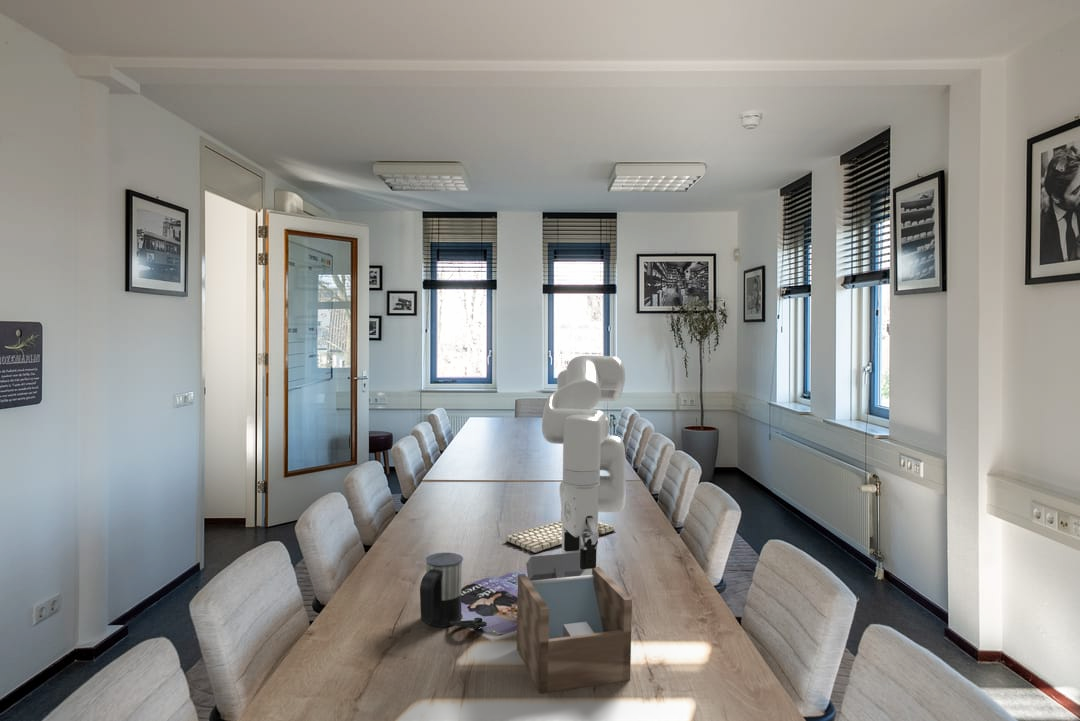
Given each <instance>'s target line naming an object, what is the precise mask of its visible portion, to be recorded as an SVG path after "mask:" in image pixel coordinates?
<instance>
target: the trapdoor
mask: <svg viewBox="0 0 1080 721" xmlns="http://www.w3.org/2000/svg"><path fill="white" fill-rule="evenodd" d="M525 565H526V573H527V578H528V579H529V580H530V582H531V583H532V585H533V586H534V588H535V589H536V591H537V592H538V593H539V595H540V596H541V598H542V599H543V601H544V602H545V604H546V605H547V606H548V608H549V637H548V639H553V638H561V637H563V624H571V623H579V622H587V624H588V625H589V626H590V628H591V629H592V631H593V632H594V633H600V632H603V628H602V623H601V618H600V613H599V608H598V603H597V598H596V593H595V588H594V584H593V580H594V575H584V576H580V575H581V573H582V572H583V571H584V570H585V569H581V568H580V552H579V553H567V554H562V553H556V554H547V555H535V556H534V555H533V556H529V559H528V560H527V562H526V564H525Z"/></svg>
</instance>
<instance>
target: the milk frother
mask: <svg viewBox="0 0 1080 721" xmlns="http://www.w3.org/2000/svg"><path fill="white" fill-rule="evenodd" d="M463 557H464V556H462V555H460V554H458V553H455V552H436V553H433V554H430V555H427V556H426V557H425V558H424V562H425V563H426V568H425V569H426V571H425V572H426V573H425V574H424V575H423V577H422V578H421V582H420V586H419V597H420V598H419V601H420V603H419V604H420V605H419V606H420V620H421V622H423V623H427V625H429V626H433V627H441V628H443V627H450V626H455V627H462V628H472V629H474V630H475V629H479V628H480V627H482V628H485V627H487V626H488V623H487V622H486V621H483V618H482V617H475V618H474V619H469V620H468V619H466V620H461V619H463V613H462V582H463V581H462V576H463V575H462V574H463V571H462V570H463V569H462V568H463V565H462V564H463V561H464V558H463ZM460 620H461V621H460Z"/></svg>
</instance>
